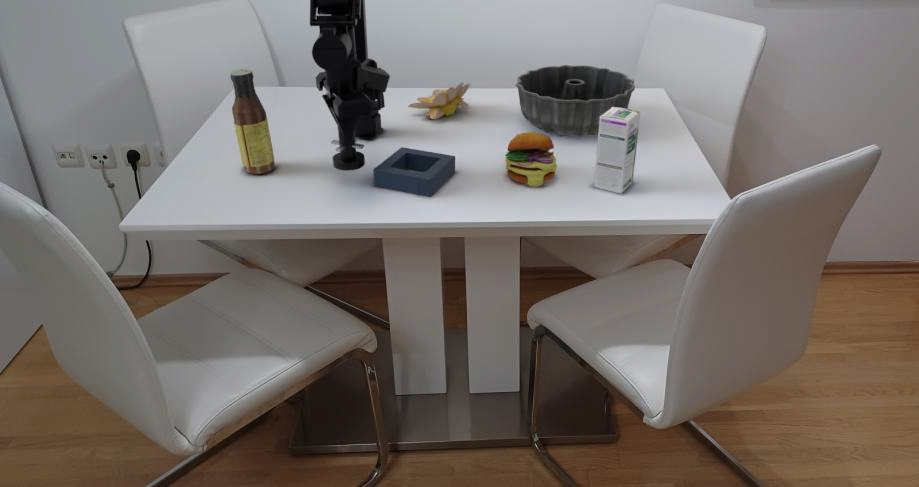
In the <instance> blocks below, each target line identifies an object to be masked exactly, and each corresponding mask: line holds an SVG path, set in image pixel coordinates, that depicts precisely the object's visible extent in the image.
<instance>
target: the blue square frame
mask: <svg viewBox="0 0 919 487" xmlns="http://www.w3.org/2000/svg"><path fill="white" fill-rule="evenodd" d="M372 170H373V184H374V187H377V188H383V189H388V190H393V191H399V192H404V193H410V194H415V195H420V196H426V197H432V195H434V194H435V193H436V192H437V191H438V189H440V188H441V187H442V186H443V185H444V184H445V183H446V182H447V181H448V180H449V179H450V178H451V177H452V176H453V175H454V174H455V173H456V156H455V155H451V154H444V153H439V152H433V151H428V150H421V149H416V148H410V147H403V146H400V148H398V149H397V150H396V151H394V153H392V154H391V155H390V156H388V157H387V158H386V159H384V160H383V161H381V163H380V164H378V165H377V166H376V167H374V168H373V169H372Z"/></svg>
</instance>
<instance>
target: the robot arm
mask: <svg viewBox="0 0 919 487" xmlns="http://www.w3.org/2000/svg"><path fill="white" fill-rule="evenodd" d="M366 16H367V15H366V0H309V26H310V27H318V28H319V34H318V37H317V38H316V40H315V42H314V43H313V44H312V49H311V55H312V59H313V61H314V63H315V64H316V65H317V66H318V67H319V68H321V69H322V70H324V71H321V72H320V71H319V73H318V74H317V75H316V77H315V85H316V89H317V90H318V91H319V92H322V91H324V90H325V92H326V93H325V94H322V95H321V97H322V99H323V101H324V103H325V104H326V106H327V108H328V110H329V113H330V114H331V116H332V118H333V120H334V122H335V124H336V125H337V127H338V124H339V127H340V129H341V131H342V133H343V135H344V137H345V139H346V140H347V141H349V140H352V139H353V134H354V131H355V137H359V140H367V141H371V140H372V139H374V138H375V137H377V136H378V135H379V134H381V133H383V131H384V128H383V127H382V115H381V113H380V111H381V110H382V109H384V108H385V105H386V103H385V95H384V94H385V93H386V92H387V88H388V85H389V81H390V77H391V74H389V73H388V72H387V71H386V70H385V69H383V68H382V67H378V63H377V61H376V60H375V59H373V58H370V57H369V48H368V34H367V33H368V32H367V31H368V30H367V17H366ZM337 122H338V124H337Z"/></svg>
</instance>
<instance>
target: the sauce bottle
mask: <svg viewBox="0 0 919 487" xmlns="http://www.w3.org/2000/svg"><path fill="white" fill-rule="evenodd" d="M229 74H230V80H231V82H232V85H233V90H234V96H235V97H234V103H233V105H232V107H231V112H232V116H233V121H234V122H233V124H234V129H235V133H236V134H235V135H236V138H237V143H238V148H239V154H240V158H241V162H242V165H243V169H244V172H245V173H248V174H251V175H262V174H267V173H269V172H271V171H272V170H274V169H275V155H274V148H273V143H272V137H271V133H270V127H269V122H268V117H267V112H266V110H265V108H264V105H263V104H262V102H261V100H260V98H259V96H258V94H257V91H256V89H255V83H254V73H253V71H252V70H251V69H247V68H244V69H243V68H241V69H236V70H233V71H231V72H230V73H229Z"/></svg>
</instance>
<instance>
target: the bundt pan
mask: <svg viewBox="0 0 919 487" xmlns="http://www.w3.org/2000/svg"><path fill="white" fill-rule="evenodd" d="M516 79H517V80H516V82H515V87H516V88H517V92H518V99H519V105H520V111H521V113H522V114H521V115H522V116H523V117H524V119H526V120H527V121H528V122H529V123H530V124H531V125H532V126H534V127H535V128H537V129H542V130H543V131H544V132H546V133H548V134H552V133H557V134H559V135H562V136H569V135H572V134H575V135H576V136H578V137H582V136H584V135H585V134H587V135H597V134H598V132H599V121H600V116H601V115H602V114H604V113H605V112H606V111H608V110H610V109H611V107H618V108H627V109H629V104H630V101H631V98H632V94H633V92H634V91H635V89H636V85H635V84H634V83H635V79H632V78H629V77H628V75H627V74H625V73H623V72H619V71H615V70H611V69H609V68H607V67H604V68H603V67H597V66H591V65H569V64H563V65H559V66H558V65H555V66H553V65H552V66H551V65H550V66H549V65H548V66H542V67H539V68H536V69H533V70H527V72H526V73H523V74H520V75H519V76H517V78H516Z"/></svg>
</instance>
